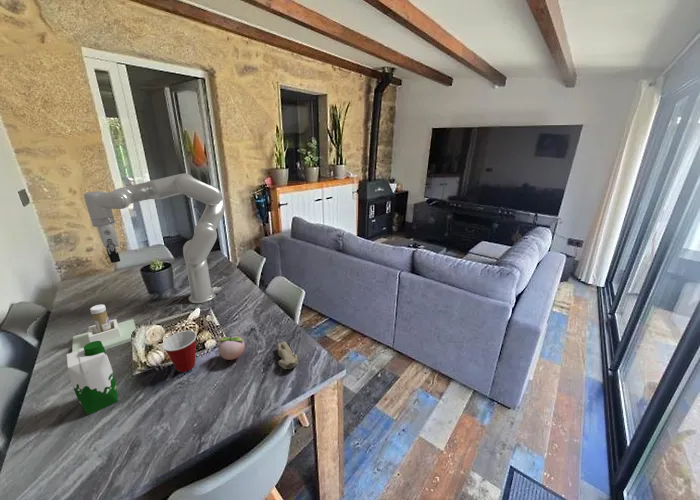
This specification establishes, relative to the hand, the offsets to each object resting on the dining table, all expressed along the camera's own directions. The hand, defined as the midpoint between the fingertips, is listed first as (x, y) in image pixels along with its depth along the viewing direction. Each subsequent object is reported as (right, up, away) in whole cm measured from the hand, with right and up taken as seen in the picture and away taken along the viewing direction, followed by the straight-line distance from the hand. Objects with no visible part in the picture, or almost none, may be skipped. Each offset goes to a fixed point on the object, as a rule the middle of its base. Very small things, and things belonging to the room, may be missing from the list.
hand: (114, 258), depth 127 cm
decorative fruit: (+61, -37, -19) cm, 74 cm away
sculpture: (+80, -38, -19) cm, 91 cm away
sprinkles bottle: (+5, -31, -10) cm, 33 cm away
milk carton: (+27, -43, -38) cm, 64 cm away
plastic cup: (+45, -39, -23) cm, 64 cm away
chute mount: (+5, -33, -9) cm, 34 cm away
